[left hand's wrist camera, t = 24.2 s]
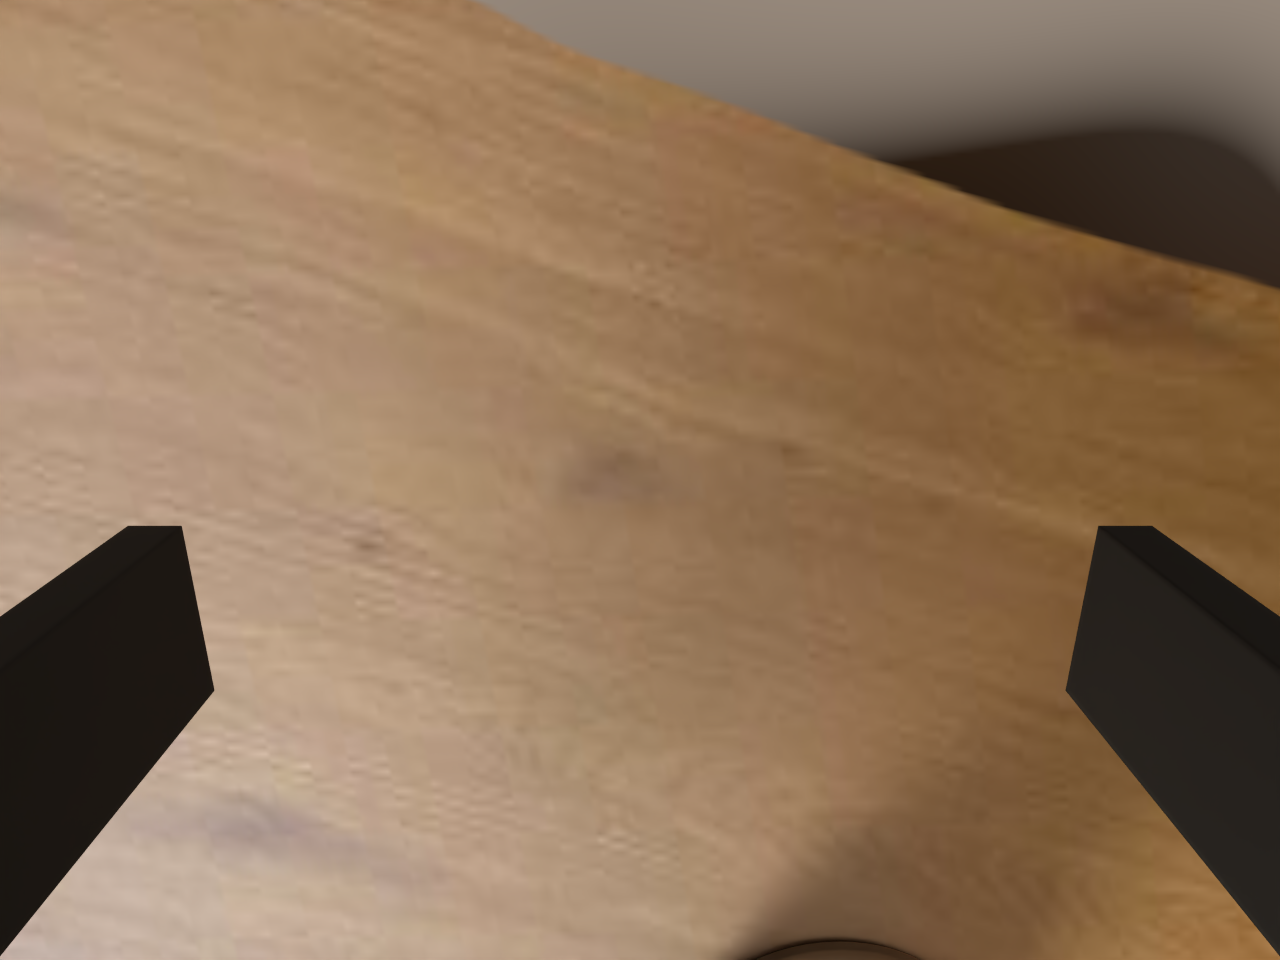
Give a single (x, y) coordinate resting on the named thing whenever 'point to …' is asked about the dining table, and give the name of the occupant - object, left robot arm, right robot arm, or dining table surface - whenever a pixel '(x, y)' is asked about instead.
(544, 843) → the dining table surface
